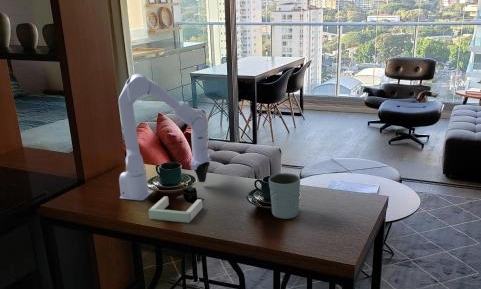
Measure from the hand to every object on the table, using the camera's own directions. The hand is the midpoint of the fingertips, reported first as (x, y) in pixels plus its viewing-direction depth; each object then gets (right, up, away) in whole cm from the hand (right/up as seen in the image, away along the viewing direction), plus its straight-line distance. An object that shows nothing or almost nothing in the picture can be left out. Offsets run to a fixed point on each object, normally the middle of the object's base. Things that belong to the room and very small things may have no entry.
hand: (202, 181), depth 176 cm
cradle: (-7, -9, -20) cm, 23 cm away
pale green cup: (+29, -8, -24) cm, 39 cm away
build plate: (-3, -6, -10) cm, 12 cm away
